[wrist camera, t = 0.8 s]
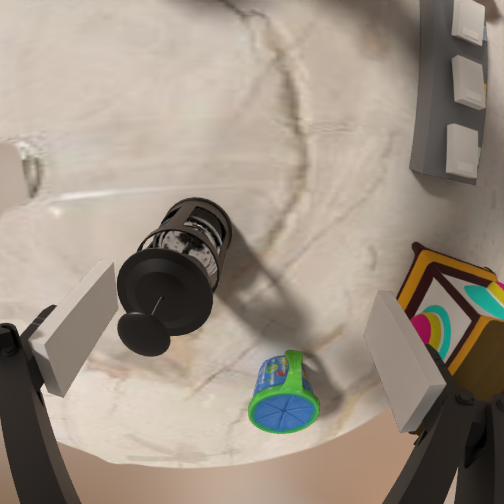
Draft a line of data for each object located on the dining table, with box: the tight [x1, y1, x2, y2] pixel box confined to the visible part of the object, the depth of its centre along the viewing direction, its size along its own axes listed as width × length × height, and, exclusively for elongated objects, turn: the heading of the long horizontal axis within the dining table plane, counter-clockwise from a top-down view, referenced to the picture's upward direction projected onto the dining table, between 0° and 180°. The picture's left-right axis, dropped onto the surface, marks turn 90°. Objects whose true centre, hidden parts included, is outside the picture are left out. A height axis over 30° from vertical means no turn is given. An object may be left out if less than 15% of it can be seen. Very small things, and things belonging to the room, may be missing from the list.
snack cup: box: [248, 350, 320, 434], centre depth 48 cm, size 16×10×10 cm
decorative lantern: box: [396, 242, 504, 436], centre depth 33 cm, size 20×20×30 cm
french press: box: [117, 197, 232, 357], centre depth 33 cm, size 12×9×23 cm
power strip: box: [409, 0, 487, 185], centre depth 31 cm, size 32×9×4 cm, turn 176°
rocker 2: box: [452, 55, 486, 110], centre depth 28 cm, size 6×4×2 cm, turn 176°
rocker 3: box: [446, 124, 478, 178], centre depth 32 cm, size 6×4×2 cm, turn 176°
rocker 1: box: [451, 0, 485, 46], centre depth 25 cm, size 6×4×2 cm, turn 176°
